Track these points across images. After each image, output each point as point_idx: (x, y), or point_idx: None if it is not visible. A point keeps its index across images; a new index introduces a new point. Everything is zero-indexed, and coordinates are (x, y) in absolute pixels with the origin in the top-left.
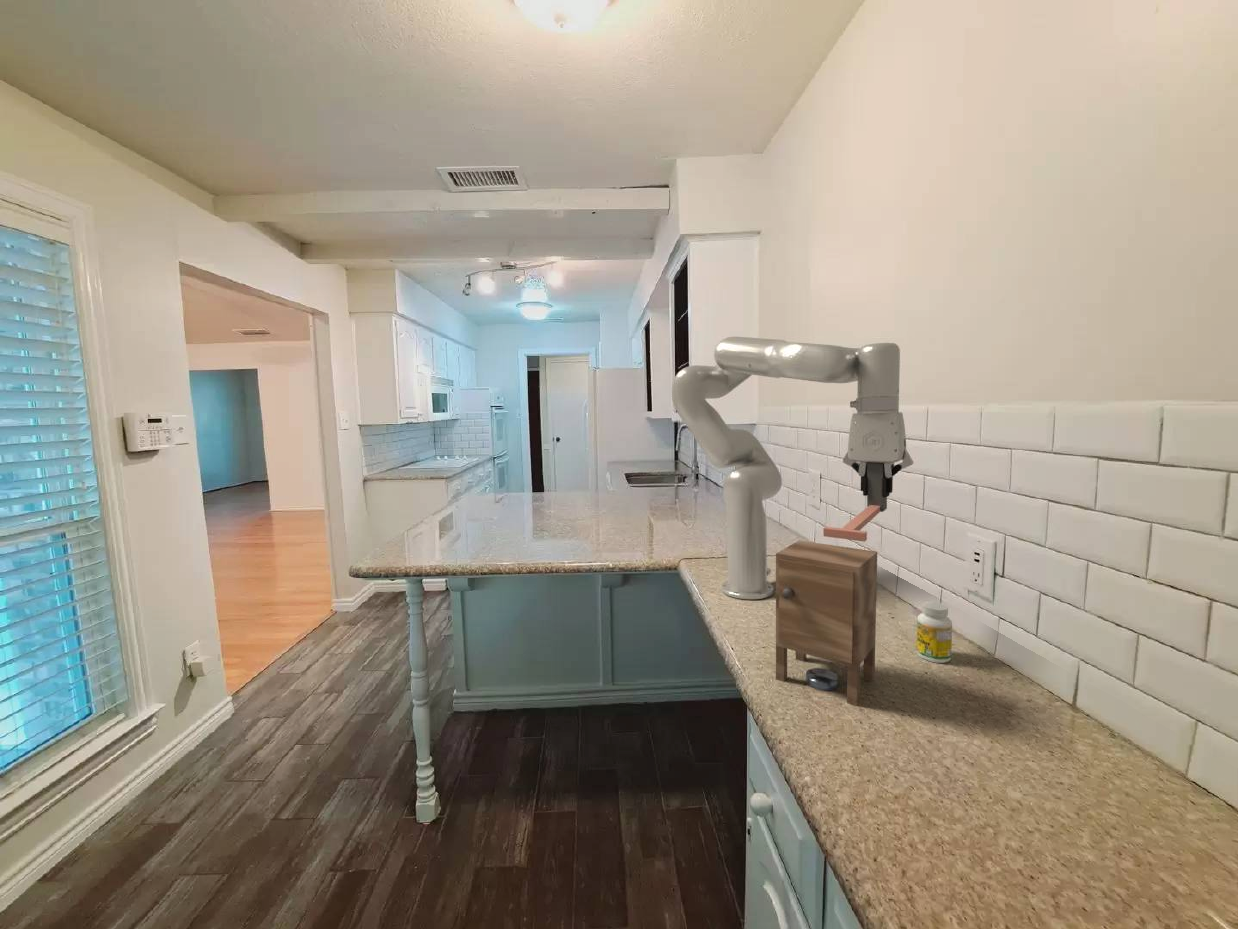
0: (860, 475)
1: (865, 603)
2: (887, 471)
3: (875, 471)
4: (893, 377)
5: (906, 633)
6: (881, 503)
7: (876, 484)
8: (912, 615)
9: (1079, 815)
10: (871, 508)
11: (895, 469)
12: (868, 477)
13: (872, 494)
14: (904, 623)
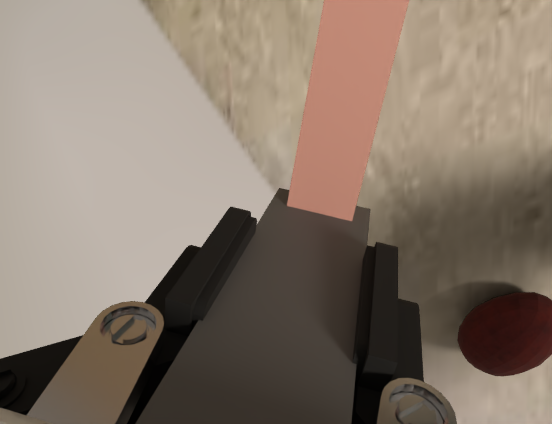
0: (429, 396)
1: None
2: (117, 358)
3: (250, 393)
4: None
5: (289, 30)
6: (276, 212)
7: (277, 293)
8: (282, 153)
9: None
10: (337, 129)
11: (31, 377)
12: (341, 359)
13: (325, 255)
14: (296, 95)
